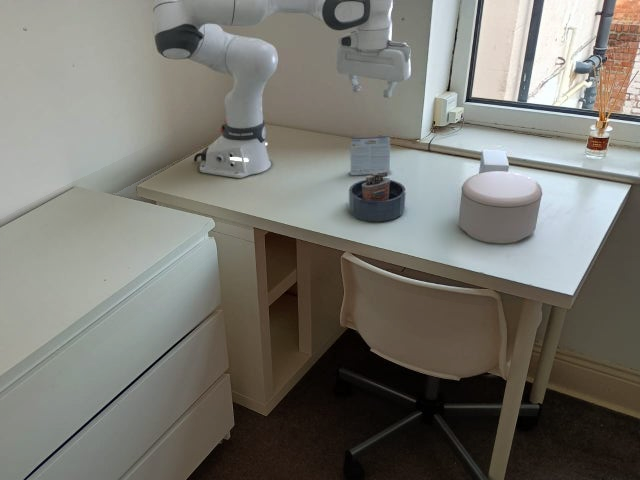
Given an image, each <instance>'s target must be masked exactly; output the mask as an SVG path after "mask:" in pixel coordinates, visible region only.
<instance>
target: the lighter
mask: <svg viewBox="0 0 640 480" xmlns="http://www.w3.org/2000/svg"><path fill="white" fill-rule="evenodd" d="M388 175H389V173H388V172H387V171H382V172H379V173H377V174H376V173H375V172H374V173H372V174H368V175H366V176H365V180H367V182H366V183H363V184H362V199H365V200H370V201H384V200H389V184H390V180H391V179H390V178H389V177H388Z"/></svg>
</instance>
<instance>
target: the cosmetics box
mask: <svg viewBox="0 0 640 480" xmlns="http://www.w3.org/2000/svg"><path fill="white" fill-rule="evenodd" d="M509 168H510V164H509V160H508V155H507V151H506V150H497V149H495V150H493V149H482V150H481V154H480V162H479V168H478V174H480V173H485V172H494V171H502V172H509Z"/></svg>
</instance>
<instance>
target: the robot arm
mask: <svg viewBox="0 0 640 480" xmlns="http://www.w3.org/2000/svg"><path fill="white" fill-rule="evenodd" d="M393 7H394V0H153V3H152V12H153V22H152V27H151V28H152V35H153V38H154V43H155V48H156V50H157V53H159V55H161V56H162V57H163V58H166V59H170V60H186V59H187V60H189V61H192V62H195V63H198V64H201V65H203V66H204V67H207V68H208V69H210V70H212V71H214V72H217V73H219V74H222V75H225V76H226V75H227V76H231V77H233V79H234V80H233V87H232V89H231V90H230V91H229V92H228V93H227V94H226V96H225V97H224V108H225V109H224V110H225V120H224V121H223V123H222V124H221V127H220V128H219V133H221V135H220V136H219V137H217V139H216V140H214V141H213V142H212V143H211V144H210V145H209V146H207V147H205V148H204V150H203V151H201V152H198V153H196V154H195V155H194V158H193V162H197V161H198V158H200V160H201V163H200V164H199V172H200V173H204V174H209V175H216V176H221V177H228V178H235V179H242V178H245V177H248V176H252V175H257V174H260V173H264V172H265V171H267V170H269V169H270V168H271V166H272V162H271V159H270V157H269V152H268V149H267V146H268V142H266V137H267V132H266V123H265V120H264V115H263V112H264V111H263V93H264V89H265V86H266V83H267V82H268V80H269V79H270V78H271V77H273V75H274V73H275V72H276V71H277V68H278V64H279V55H278V51H277V48H276V46H274V45H273V44H271V43H269V42H267V41H265V40H263V39H260V38H256V37H249V36H242V35H237V34H233V33H230V32H226V31H225V30H223V28H222V27H221V26H226V27H227V26H228V27H248V26H256V25H259V24H261V23H262V22H263V21H265V19H266V18H267V17H269V16H270V15H273V14H278V13H282V14H283V13H284V14H285V13H286V14H306V15H310V16H312V17H314V18H315V19H317V20H318V21H320V22H322V23H323V24H324V25H325V26H326V27H327V28H328V29H331V30H334V31H338V32H339V31H345V30H349V29H352V28H355V30H354V31H350V32H349V33H346V34H344V35H342V36H339V37H338V39H337V43H338V46H339V47H338V48H337V51H336V52H337V53H336V60H335V61H336V64H335V65H336V70H337V72H338V73H339V74H340V75H347V76H348V80H349V82H350V84H351V86H352V93H356V94H359V93H361V92H362V84H359V82H358V77H361V78H366V79H367V78H368V79H374V80H380V81H387V85H388V87H387V89H384V90H383V98H385V99H390V98H392V97H393V91H394V89H395V87H396V85H397V83H403V82H406V81H407V80H409V78H410V77H411V76H412V75H411V72H412V70H411V69H412V68H411V47H410V46H409V45H408V44H407V43H406V42H405V41H396V40H392V37H393V21H392V10H393Z"/></svg>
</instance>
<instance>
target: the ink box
mask: <svg viewBox="0 0 640 480" xmlns="http://www.w3.org/2000/svg"><path fill="white" fill-rule="evenodd" d="M349 153H350V154H349V155H350V176H363V175H366V176H368V175H371V174H372V173H374V172H375V173H376V174H377V173H379V172H382V171H387V172H388V174H390V168H391V135H388V136H385V135H384V136H370V137H354V138H353V137H352V138H351V139H350V147H349Z"/></svg>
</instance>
